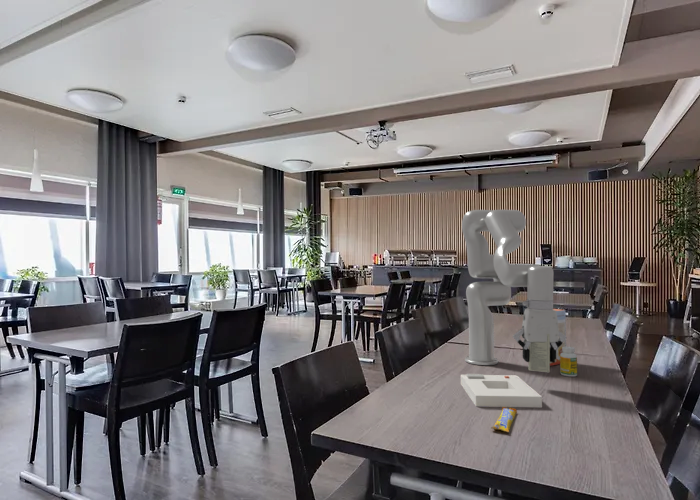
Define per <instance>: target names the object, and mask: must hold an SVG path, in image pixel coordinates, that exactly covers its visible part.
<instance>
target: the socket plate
mask: <svg viewBox="0 0 700 500" xmlns="http://www.w3.org/2000/svg"><path fill="white" fill-rule="evenodd" d="M460 385H461V386H462V388H463V390H464V391H465V393H466V394H467V395H468V397H469V399H470V400H471V401H472V403H473V405H474V406H475V407H478V408H480V407H488V408H489V407H490V408H499V407H500V408H502V407H506V408H543V397H542V395H540V394H539V393H538V392H537V391H536V390H535V389H534V388H532V387H531V386H530V385H528V383H527V382H525V380H523V379H522V378H521V377H519V376H518V375H514V374H513V375H512V374H510V375H509V374H508V375H506V374H498V375H497V374H482V373H466V374H460Z"/></svg>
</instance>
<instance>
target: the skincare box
mask: <svg viewBox="0 0 700 500" xmlns="http://www.w3.org/2000/svg"><path fill="white" fill-rule="evenodd" d="M528 349H529V350H530V356H529V362H528V371H532V372H542V373H550V369H551V366H550V334H547V342H531V344H530V345H529V347H528Z"/></svg>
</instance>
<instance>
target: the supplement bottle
mask: <svg viewBox="0 0 700 500" xmlns="http://www.w3.org/2000/svg"><path fill="white" fill-rule="evenodd" d="M562 351H563V353H561V354H560V364H559V367H560V368H559V369H560V370H559V371H560V374H561V376H564V377H571V378H573V377H577V376H578V356H577V354H576V353H575V352H576V348H575V347H573V346H566V347H562Z"/></svg>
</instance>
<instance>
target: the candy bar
mask: <svg viewBox="0 0 700 500" xmlns="http://www.w3.org/2000/svg"><path fill="white" fill-rule="evenodd" d="M501 410H502V411H501V413H500V415H499V416H498V418H497V420H496V422H495V423H494V424H493V426H492V427H490V429H492V430H494V431H500V430H501V432H505V433H510V429H511V427H512V424H513V422H514V419H515V417H516V415H517V413H518V411H517V409H516V408H515V407H508V408H507V407H501Z"/></svg>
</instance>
